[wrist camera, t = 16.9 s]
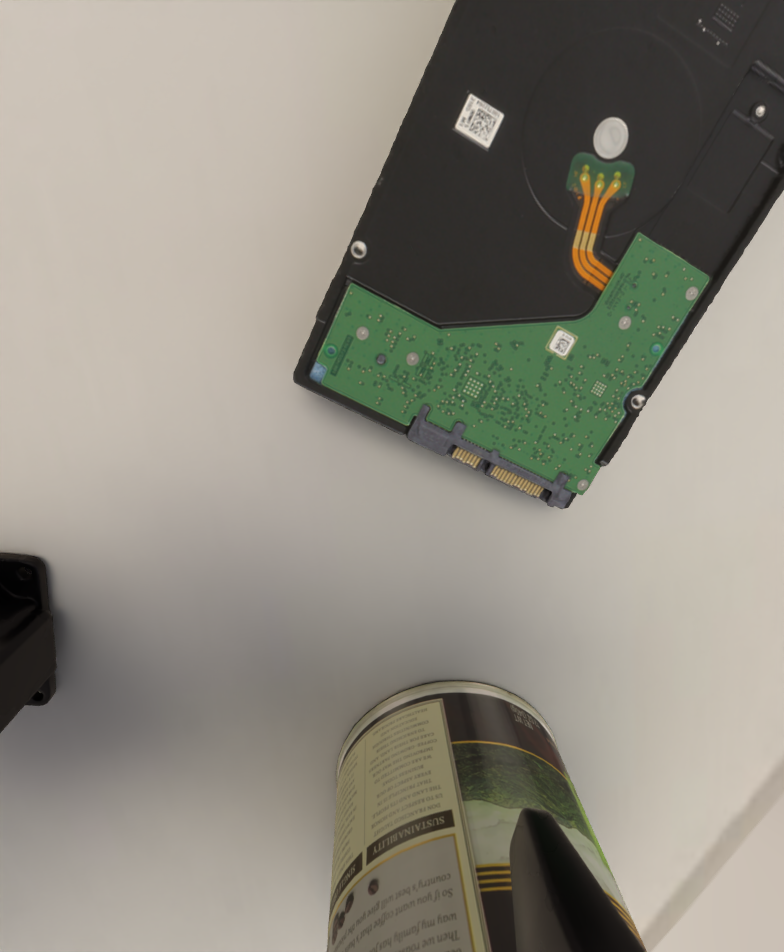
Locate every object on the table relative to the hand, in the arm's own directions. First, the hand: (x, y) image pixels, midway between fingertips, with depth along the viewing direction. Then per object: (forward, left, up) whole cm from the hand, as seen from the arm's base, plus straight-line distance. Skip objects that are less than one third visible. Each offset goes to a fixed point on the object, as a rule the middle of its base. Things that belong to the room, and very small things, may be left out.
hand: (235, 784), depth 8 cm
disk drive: (+6, +10, -12) cm, 17 cm away
